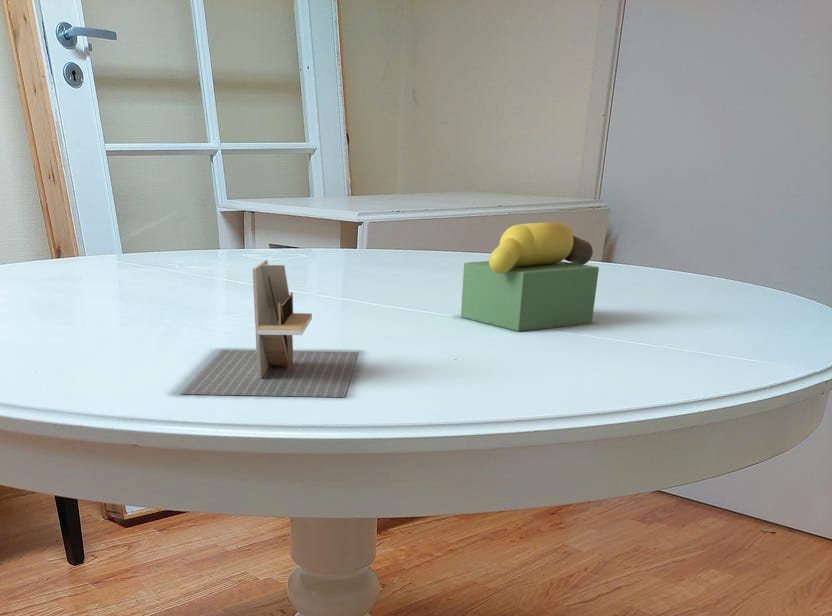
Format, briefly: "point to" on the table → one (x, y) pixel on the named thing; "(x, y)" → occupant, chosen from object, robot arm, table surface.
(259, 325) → the architectural model
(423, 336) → the table surface
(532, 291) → the block
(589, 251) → the knobbed yellow capsule
